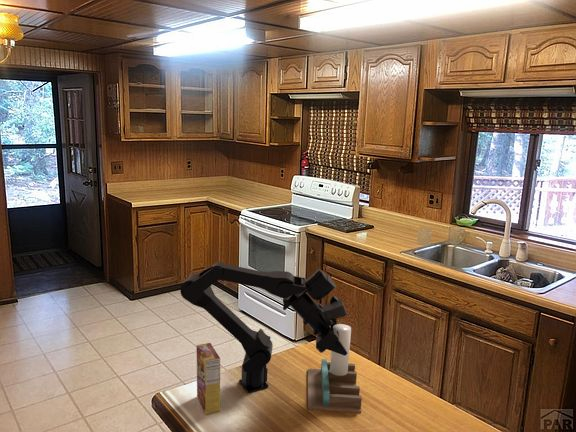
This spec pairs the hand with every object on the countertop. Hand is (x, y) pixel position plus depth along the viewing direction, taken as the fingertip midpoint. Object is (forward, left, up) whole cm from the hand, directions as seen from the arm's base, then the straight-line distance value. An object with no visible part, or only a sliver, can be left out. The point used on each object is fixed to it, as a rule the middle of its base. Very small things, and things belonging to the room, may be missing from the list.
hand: (345, 349), depth 130 cm
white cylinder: (-1, +1, -7) cm, 7 cm away
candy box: (-36, +11, -13) cm, 40 cm away
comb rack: (-2, +2, -12) cm, 13 cm away
